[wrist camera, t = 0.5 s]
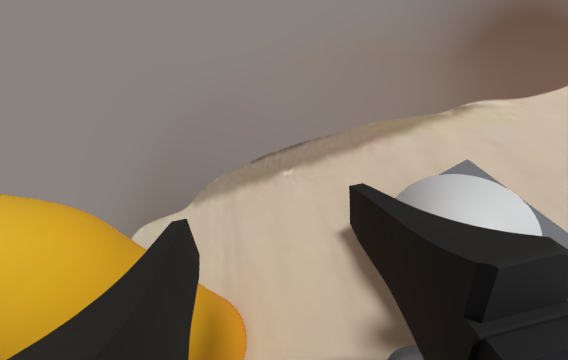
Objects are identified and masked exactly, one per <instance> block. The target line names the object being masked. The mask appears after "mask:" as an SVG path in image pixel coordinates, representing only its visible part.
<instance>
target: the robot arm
mask: <svg viewBox="0 0 568 360" xmlns="http://www.w3.org/2000/svg"><path fill="white" fill-rule="evenodd" d="M349 190H350V224H351V226H352V228H353V230H354V232H355V235H356V237H357V239H358V241H359V242H360V244H361V246H362V247H363V249H364V250H365V252H366V253H367V255H368V256H369V258H370V259H371V261H372V262H373V264H374V265H375V267H376V268H377V270H378V271H379V273H380V275H381V276H382V278H383V279H384V281H385V282H386V284H387V286H388V287H389V289H390V291H391V293H392V295H393V297H394V299H395V300H396V302H397V304H398V306H399V308H400V310H401V312H402V314H403V316H404V318H405V320H406V322H407V324H408V327H409V329H410V331H411V333H412V335H413V337H414V339H415V341H416V344H417V346H418V348H419V350H420V352H421V354H422V357H423V359H424V360H568V249H567V248H565V247H564V246H562V245H561V244H559V243H558V242H556V241H555V240H553V239H552V238H550V237H545V236H536V235H528V234H520V233H512V232H505V231H500V230H494V229H488V228H483V227H479V226H474V225H470V224H466V223H462V222H458V221H454V220H450V219H447V218H444V217H441V216H438V215H434V214H431V213H429V212H426V211H423V210H421V209H418V208H416V207H413V206H411V205H408V204H406V203H404V202H401V201H399V200H397V199H395V198H393V197H391V196H388V195H386V194H384V193H382V192H380V191H378V190H376V189H374V188H372V187H370V186H368V185H365V184H363V183H362V184H357V185H352V186H349ZM198 280H199V252H198V249H197V247H196V244H195V241H194V238H193V235H192V233H191V230H190V227H189V224H188V221H187V219H183V220H178V221H173V222H171V223H170V224H169V225H168V227H167V228H166V229H165V230H164V231H163V232H162V234H161V235H160V236H159V237H158V238H157V240H156V241H155V242H154V243H153V244H152V245H151V246H150V248H149V249H148V250H147V251H146V252H145V253H144V254H143V255H142V257H141V258H140V259H139V260H138V261H137V262H136V263H135V264H134V265H133V266H132V267H131V268H130V269H129V270H128V271H127V272H126V273H125V274H124V275H123V276H122V277H121V278H120V279H119V280H118V281H117V282H116V283H114V284H113V285H112V286H111V287H110V288H109V289H108V290H107V291H105V292H104V293H103V294H102V295H101V296H99V297H98V298H97V299H96V300H94V301H93V302H92V303H90V304H89V305H88V306H87V307H85V308H84V309H83V310H82V311H80V312H79V313H78V314H76V315H75V316H74V317H72V318H71V319H69V320H68V321H67V322H65V323H64V324H62V325H61V326H59V327H58V328H56V329H55V330H53V331H52V332H50V333H49V334H47V335H46V336H44V337H43V338H41V339H40V340H38V341H37V342H35V343H33V344H32V345H30V346H28V347H27V348H25V349H23V350H22V351H20V352H18V353H17V354H15V355H14V356H12V357H10V358H9V359H7V360H189V342H190V331H191V324H192V317H193V311H194V305H195V299H196V293H197V287H198Z"/></svg>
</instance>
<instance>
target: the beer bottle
mask: <svg viewBox="0 0 568 360" xmlns="http://www.w3.org/2000/svg"><path fill="white" fill-rule="evenodd" d="M146 251H147V250H146V249H145V248H143V247H141V246H140V245H138V244H137V243H135V242H134V241H132V240H131V239H129V238H127V237H126V236H124V235H123V234H121V233H120V232H118V231H117V230H116V229H114V228H113V227H111V226H110V225H108V224H107V223H105V222H103V221H102V220H100V219H98V218H96V217H94V216H92V215H90V214H88V213H86V212H83V211H81V210H78V209H75V208H72V207H69V206H66V205H62V204H57V203H53V202H48V201H43V200H37V199H31V198H24V197H16V196H9V195H3V194H0V360H7V359H9V358H10V357H12V356H14V355H15V354H17V353H18V352H20V351H22V350H23V349H25V348H27V347H28V346H30V345H32V344H33V343H35V342H37V341H38V340H40V339H41V338H43V337H44V336H46V335H47V334H49V333H50V332H52V331H53V330H55V329H56V328H58V327H59V326H61V325H62V324H64V323H65V322H67V321H68V320H69V319H71V318H72V317H74V316H75V315H76V314H78V313H79V312H80V311H82V310H83V309H84V308H85V307H87V306H88V305H89V304H90V303H92V302H93V301H94V300H96V299H97V298H98V297H99V296H101V295H102V294H103V293H104V292H105V291H107V290H108V289H109V288H110V287H111V286H112V285H113V284H114V283H116V282H117V281H118V280H119V279H120V278H121V277H122V276H123V275H124V274H125V273H126V272H127V271H128V270H129V269H130V268H131V267H132V266H133V265H134V264H135V263H136V262H137V261H138V260H139V259H140V258H141V257H142V255H143V254H144V253H145V252H146ZM245 350H246V331H245V325H244V322H243V319H242V317H241V316H240V314H239V312H238V311H237V309H236V308H235V307H234V306H233V305H232V304H231V303H230V302H229V301H227V300H226V299H224V298H223V297H221V296H219V295H217V294H215V293H214V292H212V291H210V290H208V289H207V288H205V287H204V286H202V285H201V284H199V283H198V287H197V293H196V299H195V305H194V311H193V317H192V324H191V331H190V342H189V360H243V359H244V356H245Z"/></svg>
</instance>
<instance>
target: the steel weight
mask: <svg viewBox="0 0 568 360" xmlns="http://www.w3.org/2000/svg"><path fill="white" fill-rule="evenodd" d="M388 360H424V359H423V357H422V354H421V352H420V350H419V348H418V347H416V346H406V347H402V348H400V349H398V350H396V351H395V352H393V353H392V354H391V355H390V357H389V358H388Z"/></svg>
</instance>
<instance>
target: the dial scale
mask: <svg viewBox="0 0 568 360" xmlns="http://www.w3.org/2000/svg"><path fill="white" fill-rule="evenodd" d="M395 199H397V200H399V201H401V202H404V203H406V204H408V205H411V206H413V207H416V208H418V209H421V210H423V211H426V212H429V213H431V214H434V215H438V216H441V217H444V218H447V219H450V220H454V221H458V222H462V223H466V224H470V225H474V226H479V227H483V228H488V229H494V230H500V231H505V232H512V233H520V234H528V235H536V236H545V237H550V238H552V239H553V240H555V241H556V242H558V243H559V244H561V245H562V246H564V247H565V248H567V249H568V233H567V232H566V231H564V230H563V229H562V228H560V227H559V226H558V225H556V224H555V223H554V222H552V221H551V220H550V219H548V218H547V217H545V216H544V215H543V214H541V213H540V212H539V211H537V210H536V209H535V208H533V207H532V206H530V205H529V204H528V203H526V202H525V201H524V200H522V199H521V198H520V197H518V196H517V195H516V194H515V193H513V192H512V191H510V190H509V189H507V188H506V187H505V186H503V185H502V184H501V183H499V182H498V181H496V180H495V179H494V178H492V177H491V176H490V175H488V174H487V173H486V172H484V171H483V170H482V169H480V168H479V167H477V166H476V165H475V164H473V163H472V162H471V161H469V160H468V159H467V160H465V161H464V162H462V163H460V164H458V165H456V166H454V167H452V168H451V169H449V170H447V171H445V172H443V173H441V174H439V175H437V176H433V177H428V178H425V179H423V180H420V181H418V182H416V183H414V184H412V185H410V186H409V187H407V188H406V189H405V190H403V191H402V192H401V193H400V194H399V195H398V196H397V198H395Z"/></svg>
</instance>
